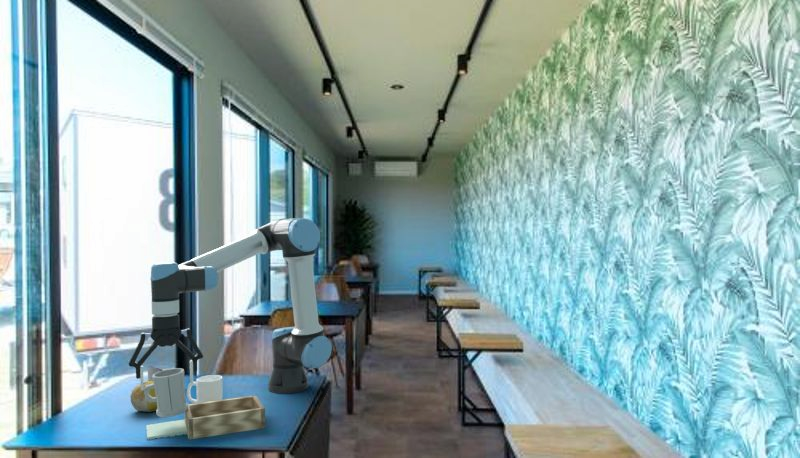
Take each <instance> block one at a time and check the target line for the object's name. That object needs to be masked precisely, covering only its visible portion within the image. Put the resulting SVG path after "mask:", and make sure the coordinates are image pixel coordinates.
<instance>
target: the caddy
mask: <svg viewBox="0 0 800 458" xmlns="http://www.w3.org/2000/svg"><path fill="white" fill-rule="evenodd" d="M187 404H188V409H187V410H186V411H185V412H184V419H185V424H186V429H187V434H186V435H187V439H188V440H195V439H200V438H201V439H202V438H207V437H214V436H221V435H228V434H229V435H230V434H234V433H241V432H247V431H253V430H260V429H265V428H266V408H265V407H264V405H263V404H262V403H261V401H260V399H259V398H258V397H257V396H256V395H254V394H253V395H247V396H240V397H234V398H227V399H226V398H225V399H223V400H217V401H210V402H203V403H187Z"/></svg>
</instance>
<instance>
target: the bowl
mask: <svg viewBox="0 0 800 458" xmlns="http://www.w3.org/2000/svg"><path fill="white" fill-rule="evenodd" d="M163 370H164V369H162V368H159V367H156V366H152V365H150V366H147V381H153V378H152V375H153V374H155V373H157V372H160V371H163Z"/></svg>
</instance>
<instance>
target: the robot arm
mask: <svg viewBox="0 0 800 458" xmlns="http://www.w3.org/2000/svg"><path fill="white" fill-rule="evenodd" d="M320 241H321V233H320V229H319V227H318V225H317V224H316V223H314V221H312V220H311V219H309V218H305V217H304V218H303V217H292V218H279V219H276V220H274V221H271V222H269V223H266V224H265V225H263V226H259V227H258V228H255V229H254V230H252V232H251V233H250V234H249V235H246V236H244V237H242V238H239V239H236V240H235V241H232V242H230V243H227V244H225V245H223V246H220V247H218V248H216V249H213V250H211V251H208V252H206V253H204V254H201V255H199V256H197V257H193V258H192V259H190V260H187V261H185V262H182V263H180V264H178V263H177V262H174V261H172V262H171V261H170V262H169V261H168V262H156V263H154V264H152V265H151V268H150V285H151V286H150V287H151V291H150V292H151V315H152V316H151V328H152V329H151V332H149V333H148V332H147V333H146V332H141V333H140V339H139V342H138V343H137V346H135V347H136V348H135V349H134V351H133V354H132V356H131V357H130V359H129V362H128V366H129V367H132V368H135V377H136V379H137V380H139V379H140V384H141V390H144V384H143V382H144V365H143V364H144V363H145V362H146V360H147V359H148V358H149V357H150V355H151V354H152V353H153V352H154V350H155V349H157V347H161V348H162V347H164V348H165V347H166V346H167V347H173V346H174V345H176V346H177V347H178V348H179V349H180V350H181V351H182V352H184V353H185V355H186V356H188V357H189V358H190V359H189V382H190V383H191V384H193V382H194V372H197V370H198V360H200V359H203V358H204V355H203V353H202V351H201V350H200V348H199V346H198V344H197V343H196V341H195V339H194V337H193V336H192V330H191V329H190V328H189V327H186V328H185V329H181V328H180V314H178V313H180V294H184V293H194V292H207V291H212V290H215V289H216V288H217V286H218V283H219V272H222V271H224V270H226V269H228V268H230V267H232V266H235V265H237V264H239V263H241V262H244V261H246V260H248V259H250V258H253V257H254V256H257V255H259V254H261V255H266V254H268V253H271V252H276V251H282V258H283V259H284V260H285V261H287V264H288V265H287V267H288V273H289V274H288V275H289V285H290V295H291V304H292V311H293V312H292V313H293V322H294V326H289V327H287V326H285V327H281V328H276V329H274V330H273V331H272V335H271V342H272V344H271V345H272V347H271V348H272V351H271V352H272V370H271V373H270V376H269V379H268V383H267V389H268V391H269V392H271V393H274V394H294V393H299V392H303V391H305V390H308V388H309V385H310V384H309V379H308V375H307V373H306V369H305V368H307V369H310V368H311V369H318V368H321V367H323V366H324V365H325V364H326V363H327V361H328V360H329V359H330V357H331V354H332V350H333V349H332V348H333V347H332V342H331V341H330V340H329V339H328V337H327V336H325V332H324V326H322V325H321V324H320V323H319V314H318V313H319V312H318V304H317V295H316V293H317V292H316V285H315V284H316V282H315V274H314V267H313V259H314V256H315V255H316V249H317V248H318V246H319V245H318V244H320ZM182 335H183V336H184V337H186V338H187V339H188V341H189V343H190V345H191V347H192V348H193V349H194V351H195V353H196V354H194V353H193V352H192V351H191V350H190V349H189V348H188V347H187V346H186V345H185V344H184V343H183V342H182V341H181V340H180V337H181V336H182ZM150 338H151V339H152V341H153V342H152V343H151V345H149V347H148V349H147V350H146V351H145V352H144V353H143V354H142V355H141V357H140V358H139V359H138V356H139V354H140V352H141V350H142V348H143V346H144V344H145V342H146V341H148V340H149V339H150ZM137 359H138V360H137ZM190 383H189V384H190Z"/></svg>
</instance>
